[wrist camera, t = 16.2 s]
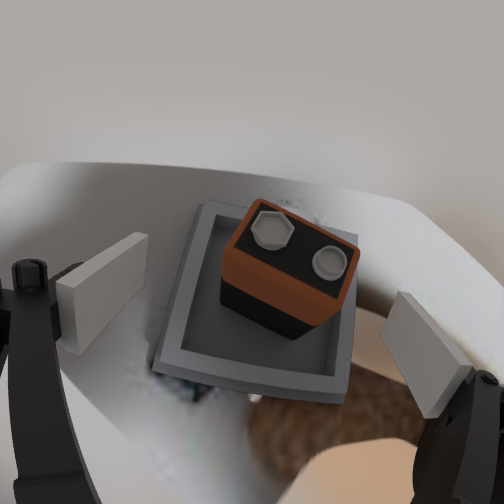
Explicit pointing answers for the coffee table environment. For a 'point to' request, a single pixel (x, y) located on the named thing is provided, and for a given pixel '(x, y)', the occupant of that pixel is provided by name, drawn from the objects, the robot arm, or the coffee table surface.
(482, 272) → the coffee table surface
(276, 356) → the charging dock
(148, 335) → the coffee table surface
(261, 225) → the battery
